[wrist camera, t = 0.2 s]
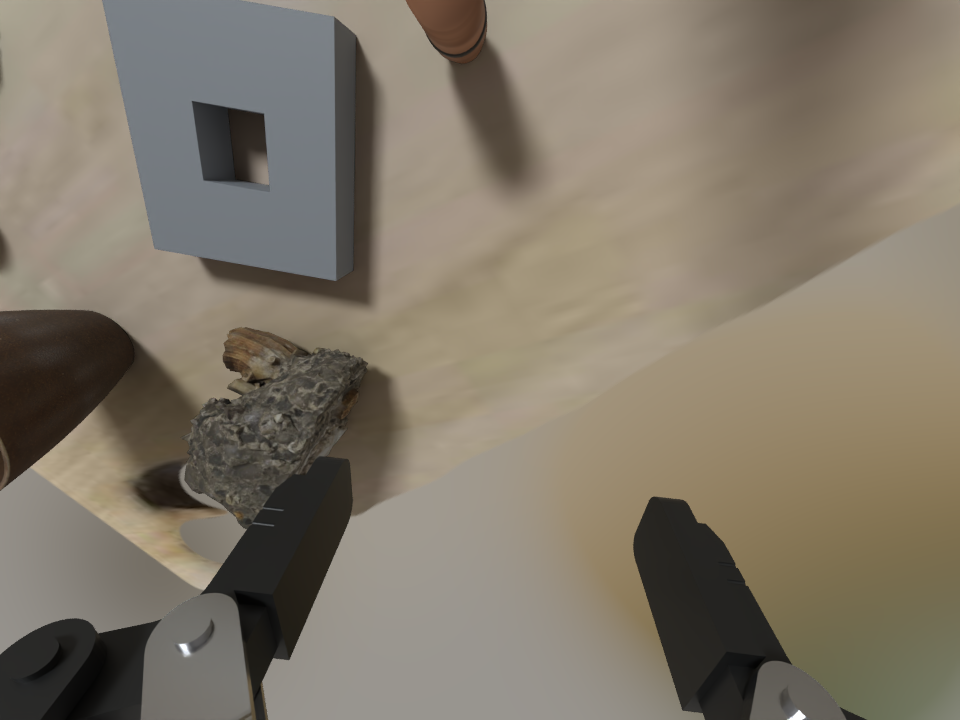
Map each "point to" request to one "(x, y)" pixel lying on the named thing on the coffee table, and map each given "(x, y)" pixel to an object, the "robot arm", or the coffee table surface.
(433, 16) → the cherry peg
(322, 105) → the slate socket board
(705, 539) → the robot arm
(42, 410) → the plant pot
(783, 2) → the coffee table surface
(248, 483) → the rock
